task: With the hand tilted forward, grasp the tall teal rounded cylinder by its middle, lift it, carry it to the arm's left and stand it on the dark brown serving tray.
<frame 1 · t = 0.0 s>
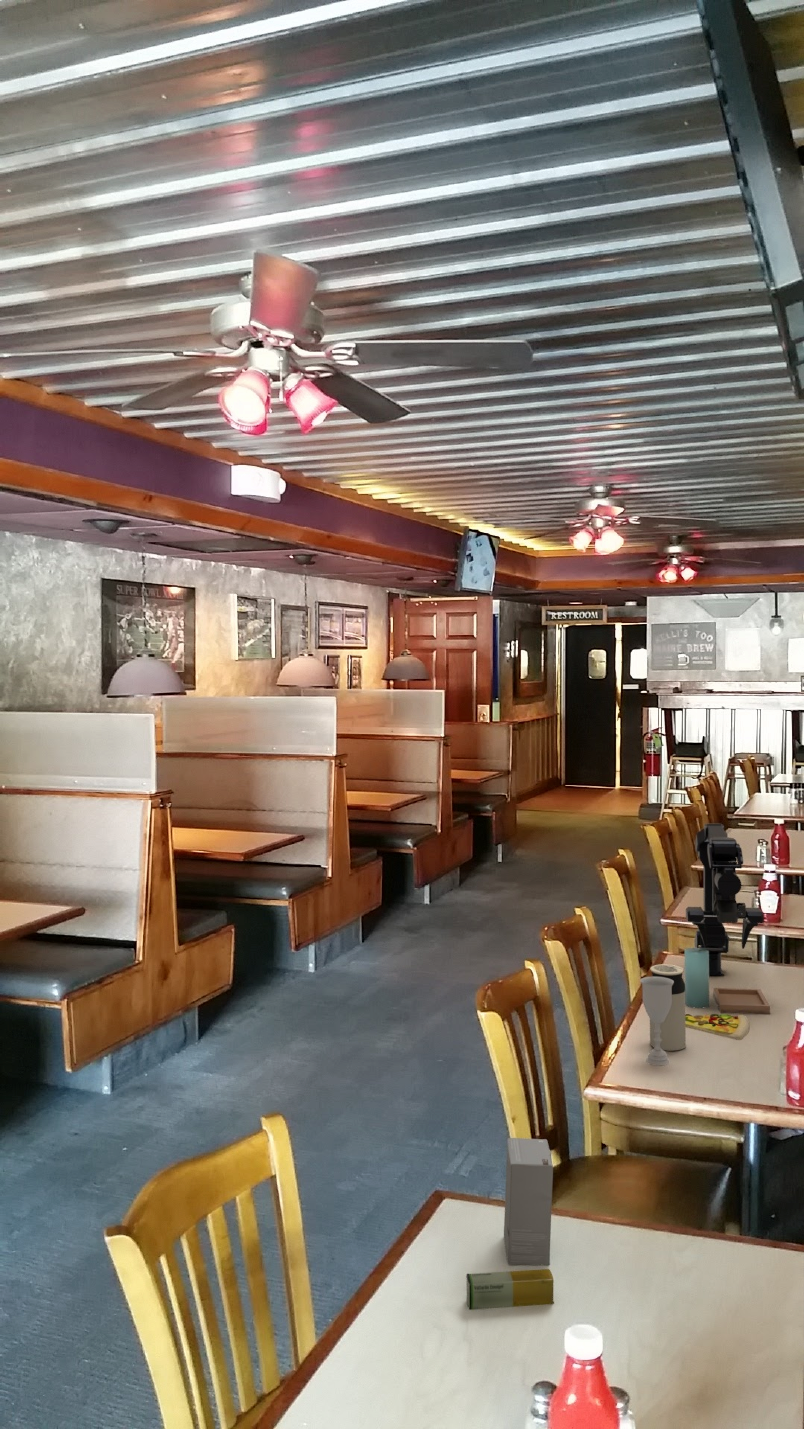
hand: (724, 948, 270), 15 cm above the table, tool pointing down, fingers open, 9 cm apart
teal rounded cylinder: (697, 1004, 271), on the table
chalice: (657, 1062, 233), on the table
medication box: (510, 1304, 146), on the table
skincare box: (528, 1252, 158), on the table
pizza slice: (704, 1029, 256), on the table
tray: (740, 1004, 270), on the table
travel mug: (667, 1046, 242), on the table
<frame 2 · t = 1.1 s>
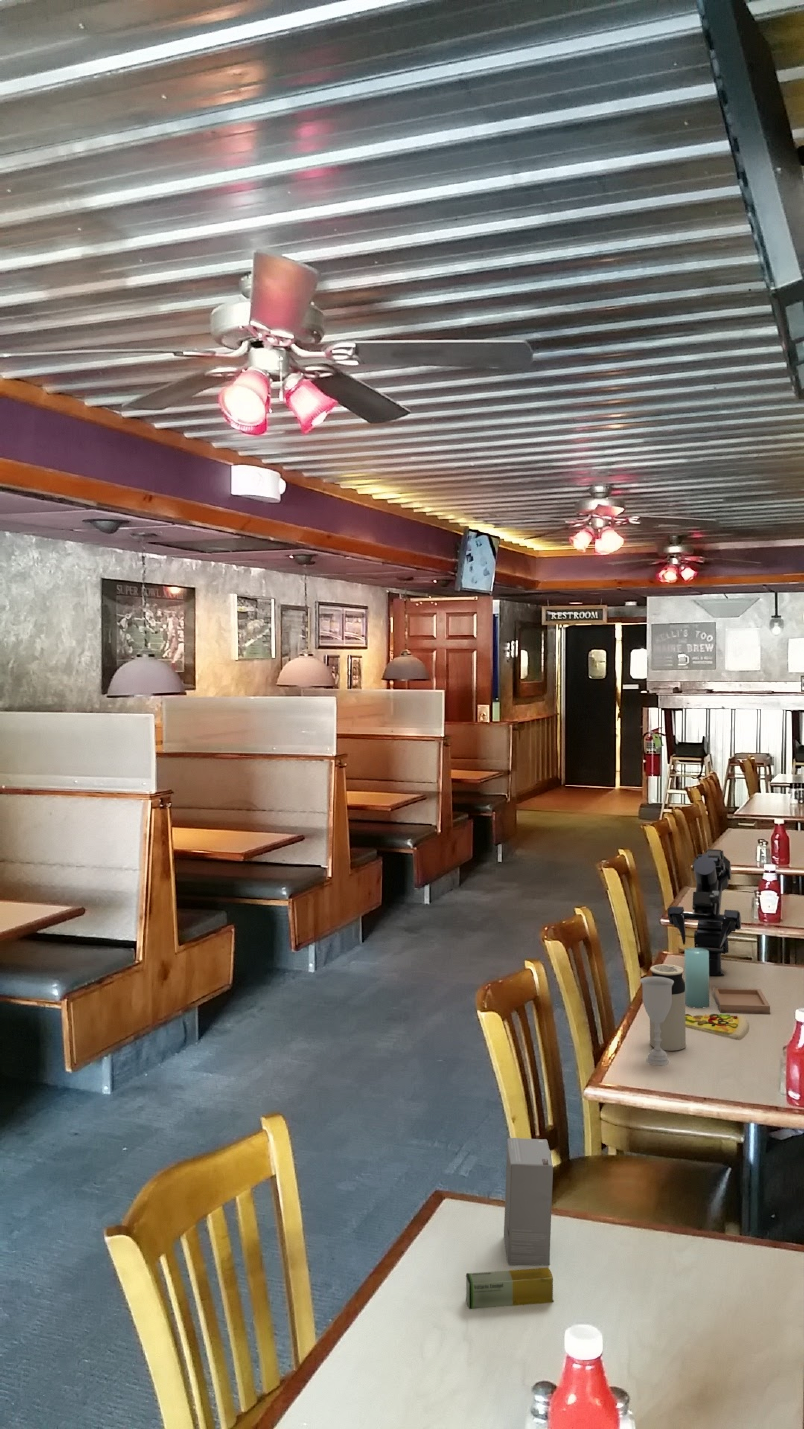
hand: (701, 945, 278), 13 cm above the table, tool tilted 45°, fingers open, 9 cm apart
nothing on the table moved.
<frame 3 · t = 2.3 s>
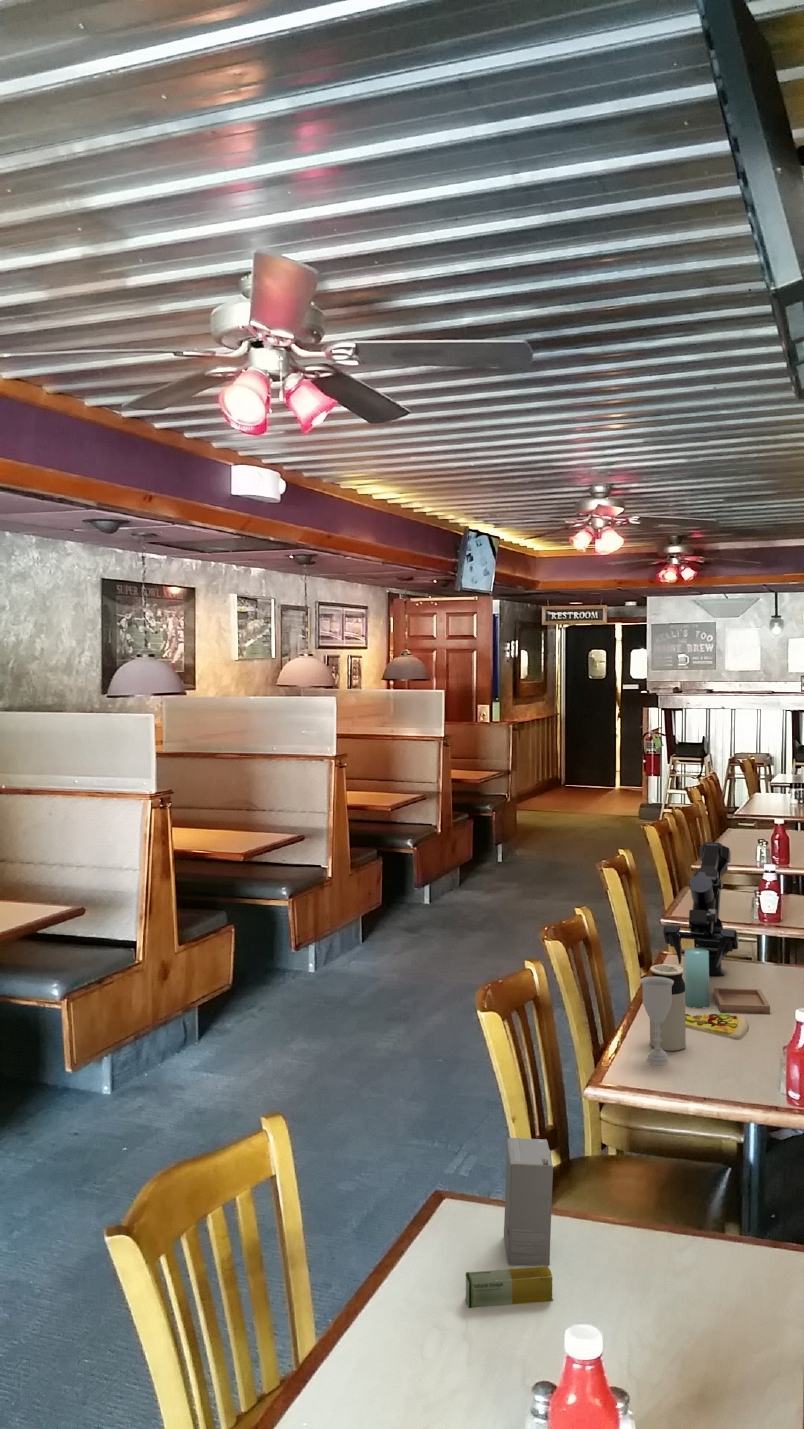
hand: (697, 964, 272), 10 cm above the table, tool tilted 45°, fingers open, 9 cm apart
nothing on the table moved.
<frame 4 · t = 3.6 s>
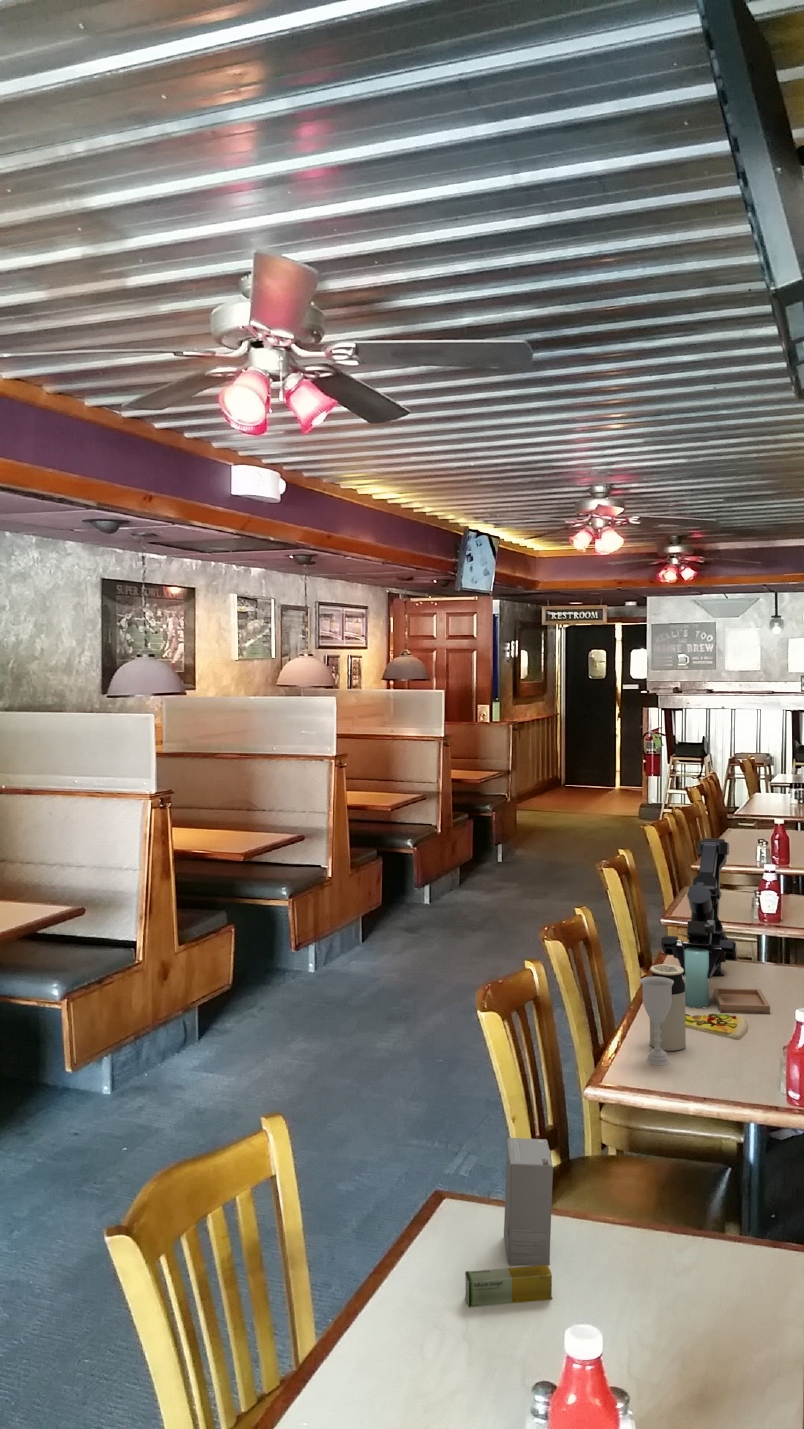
hand: (696, 976, 270), 8 cm above the table, tool tilted 45°, fingers closed on teal rounded cylinder, 6 cm apart
teal rounded cylinder: (697, 1004, 271), on the table, touching gripper
everything else where it was.
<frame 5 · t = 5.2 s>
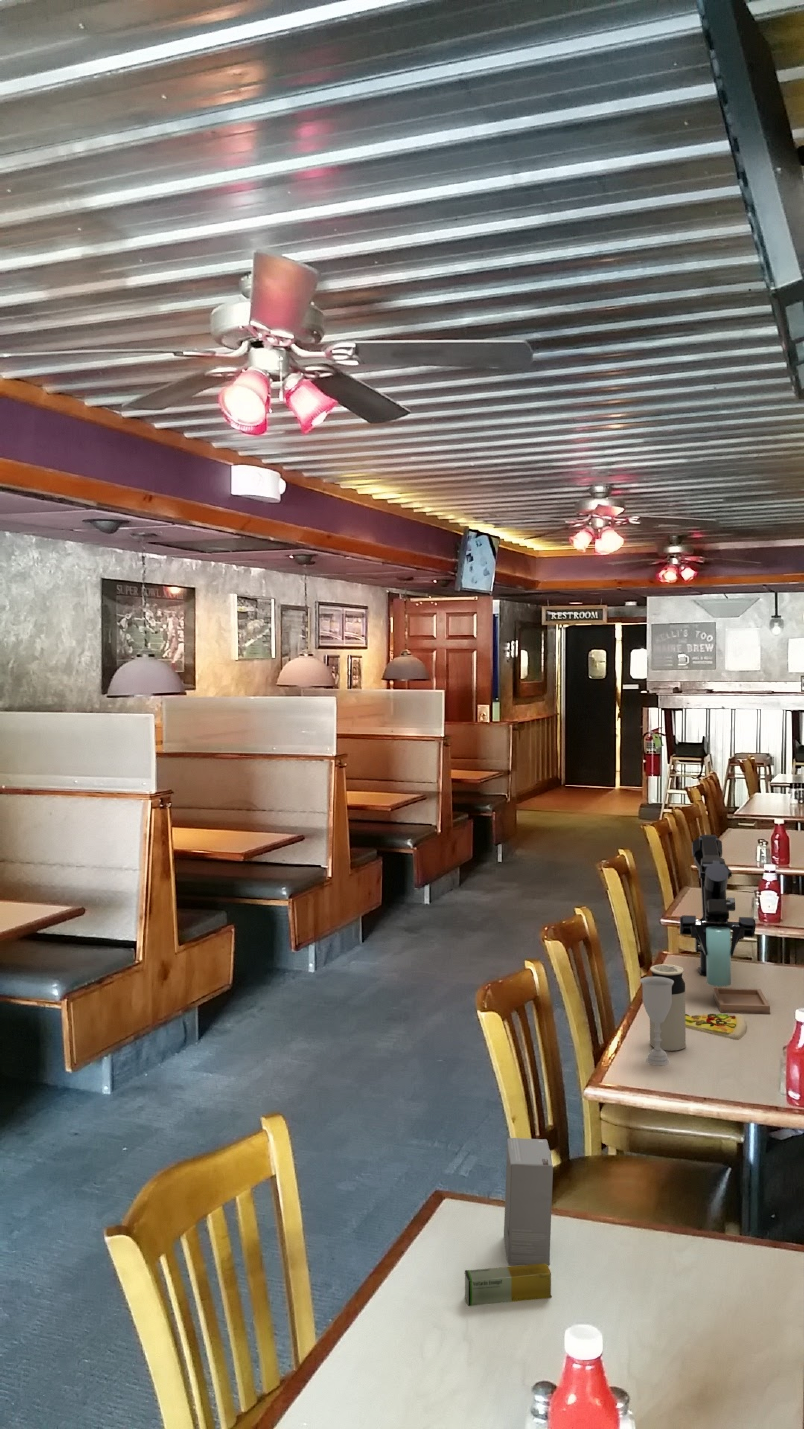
hand: (719, 955, 269), 13 cm above the table, tool tilted 45°, fingers closed on teal rounded cylinder, 6 cm apart
teal rounded cylinder: (718, 982, 270), point 6 cm above the table, touching gripper
when the fingers open (9 cm above the table, at t = 7.0 s): teal rounded cylinder stays where it is, resting on tray.
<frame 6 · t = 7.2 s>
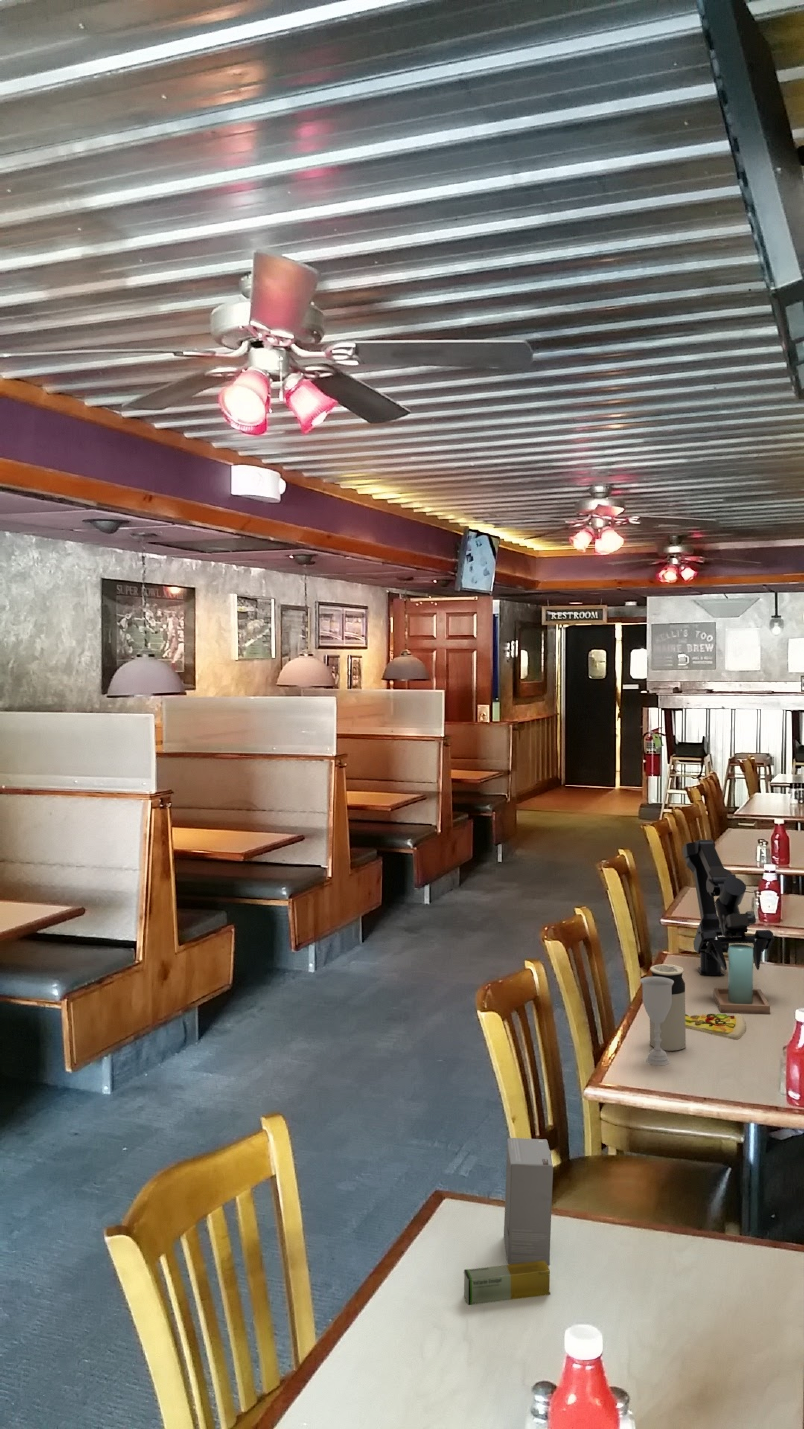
hand: (742, 969, 269), 10 cm above the table, tool tilted 45°, fingers open, 8 cm apart
teal rounded cylinder: (740, 1001, 271), point 1 cm above the table, touching tray
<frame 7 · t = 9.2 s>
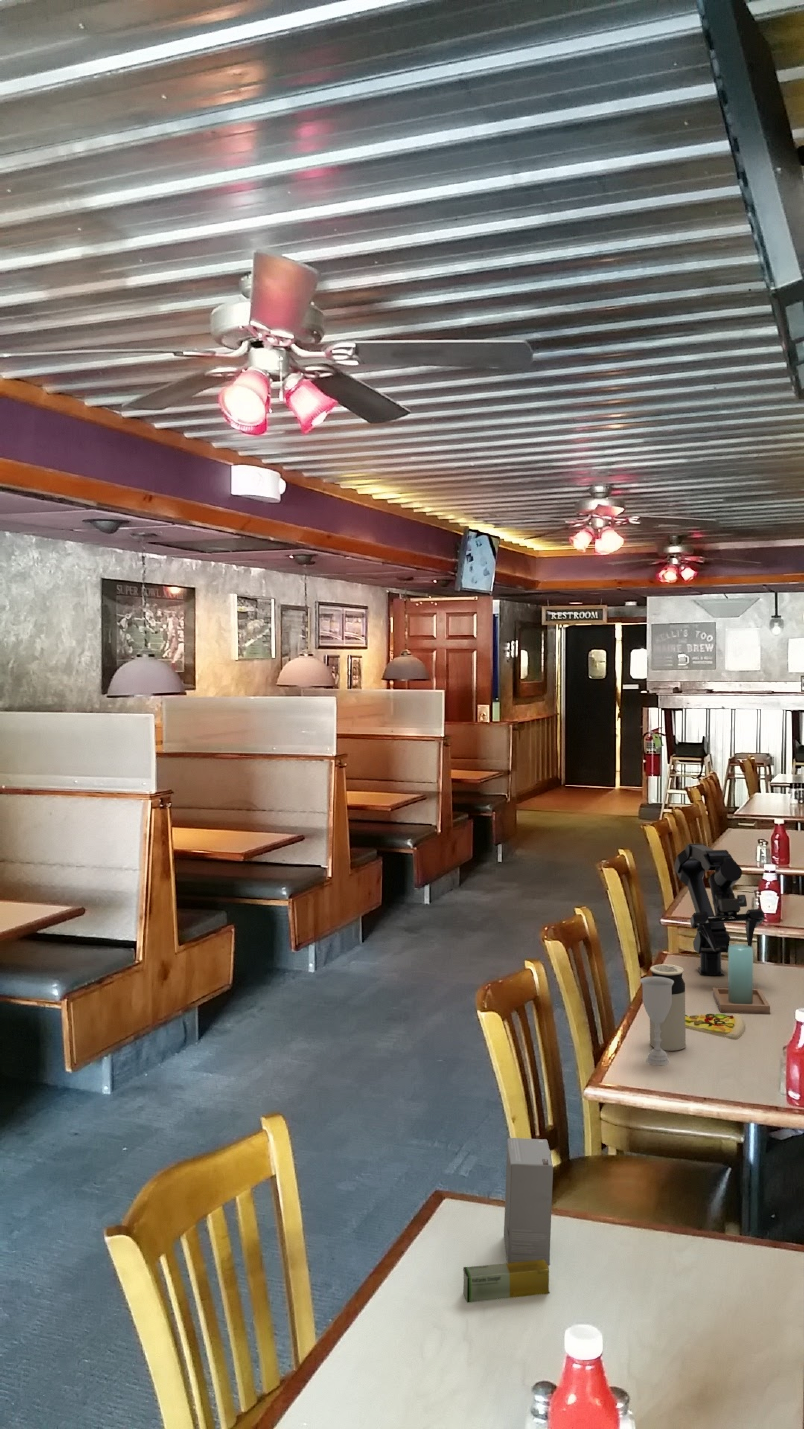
hand: (732, 949, 280), 12 cm above the table, tool tilted 30°, fingers open, 9 cm apart
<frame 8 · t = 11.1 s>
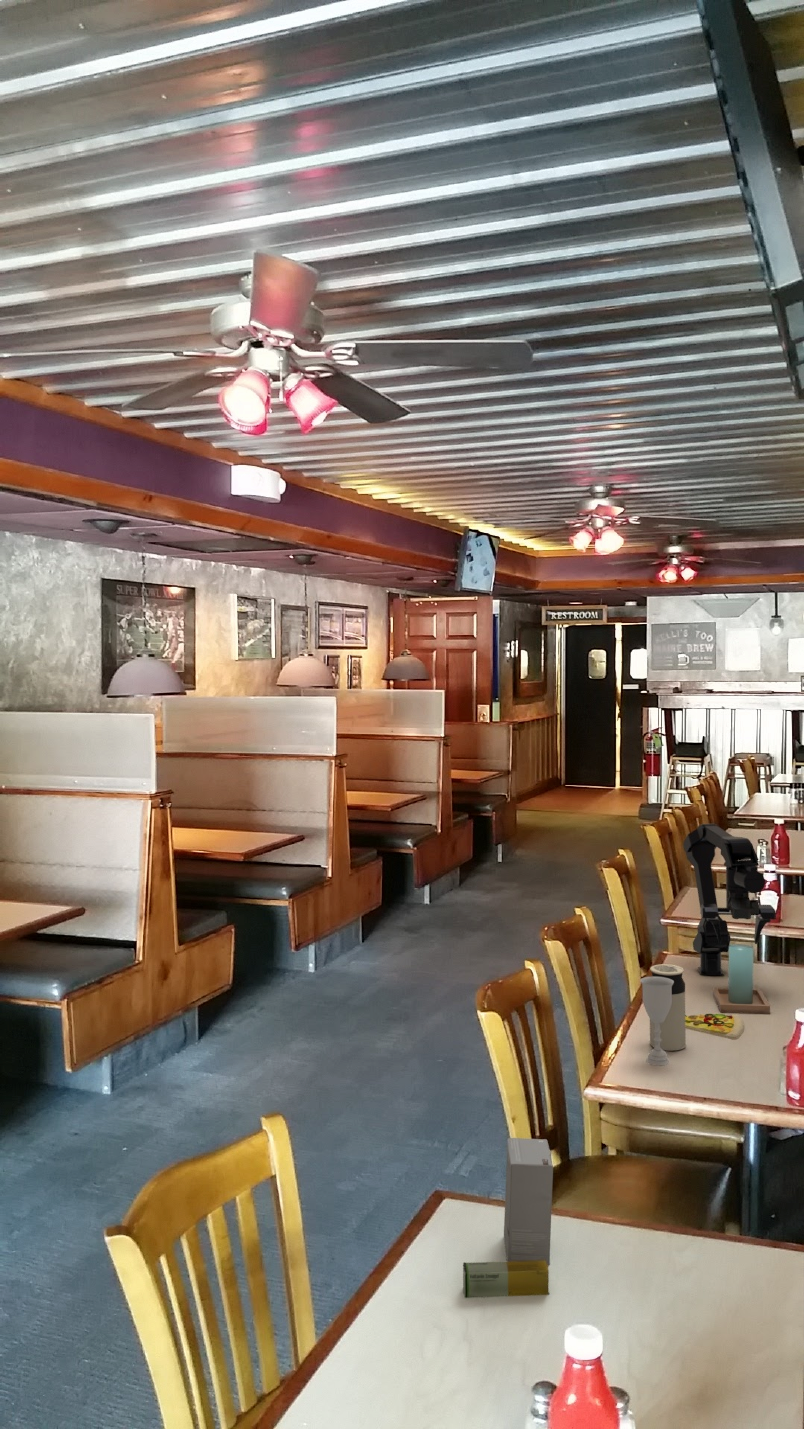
hand: (737, 943, 281), 13 cm above the table, tool pointing down, fingers open, 9 cm apart
at the end: teal rounded cylinder inside the target area on the tray (0.1 cm from its centre), point 0.9 cm above the tray's base; teal rounded cylinder tilted 1°; the gripper is holding nothing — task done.
